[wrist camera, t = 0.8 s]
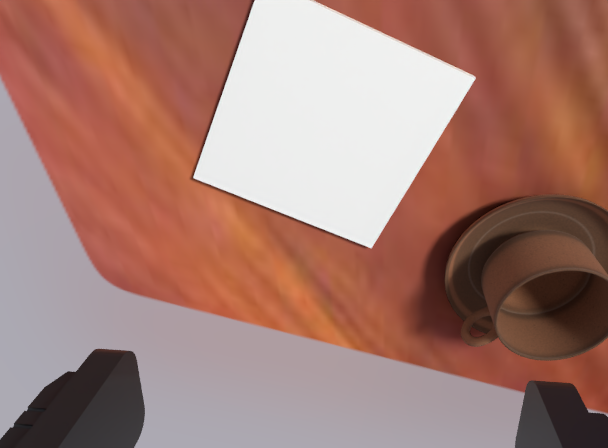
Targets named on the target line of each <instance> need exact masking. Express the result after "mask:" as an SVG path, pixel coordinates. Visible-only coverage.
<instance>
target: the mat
mask: <svg viewBox="0 0 608 448" xmlns="http://www.w3.org/2000/svg"><path fill="white" fill-rule="evenodd" d="M475 79H476V78H475V76H474V75H472V74H469V73H467V72H465V71H463V70H461V69H459V68H457V67H454V66H452V65H450V64H448V63H446V62H444V61H442V60H440V59H437V58H435V57H433V56H431V55H429V54H427V53H425V52H422V51H420V50H418V49H416V48H414V47H412V46H410V45H408V44H405V43H403V42H401V41H399V40H397V39H395V38H393V37H391V36H388V35H386V34H384V33H382V32H380V31H378V30H376V29H373V28H371V27H369V26H367V25H365V24H363V23H361V22H359V21H356V20H354V19H352V18H350V17H348V16H346V15H344V14H341V13H339V12H337V11H335V10H333V9H331V8H329V7H327V6H324V5H322V4H320V3H318V2H316V1H314V0H255V1H254V4H253V7H252V9H251V12H250V15H249V18H248V21H247V24H246V27H245V30H244V33H243V35H242V38H241V41H240V44H239V47H238V50H237V53H236V56H235V58H234V61H233V64H232V67H231V70H230V73H229V76H228V79H227V82H226V84H225V87H224V90H223V93H222V96H221V99H220V102H219V105H218V107H217V110H216V113H215V116H214V119H213V122H212V125H211V128H210V130H209V133H208V136H207V139H206V142H205V145H204V148H203V151H202V154H201V156H200V159H199V162H198V165H197V168H196V171H195V174H194V177H193V178H194V179H197V180H199V181H202V182H204V183H207V184H209V185H212V186H214V187H217V188H220V189H222V190H225V191H227V192H230V193H232V194H235V195H237V196H240V197H242V198H245V199H247V200H250V201H253V202H255V203H258V204H260V205H263V206H265V207H268V208H270V209H273V210H275V211H278V212H280V213H283V214H285V215H288V216H291V217H293V218H296V219H298V220H301V221H303V222H306V223H308V224H311V225H313V226H316V227H318V228H321V229H324V230H326V231H329V232H331V233H334V234H336V235H339V236H341V237H344V238H346V239H349V240H351V241H354V242H356V243H359V244H362V245H364V246H367V247H369V248H372V246H373V245H374V243H375V242H376V240H377V238H378V237H379V235H380V233H381V232H382V230H383V229H384V227H385V225H386V224H387V222H388V220H389V219H390V217H391V216H392V214H393V212H394V211H395V209H396V207H397V206H398V204H399V202H400V201H401V199H402V198H403V196H404V194H405V193H406V191H407V189H408V188H409V186H410V185H411V183H412V181H413V180H414V178H415V176H416V175H417V173H418V172H419V170H420V168H421V167H422V165H423V163H424V162H425V160H426V158H427V157H428V155H429V154H430V152H431V150H432V149H433V147H434V145H435V144H436V142H437V141H438V139H439V137H440V136H441V134H442V132H443V131H444V129H445V127H446V126H447V124H448V123H449V121H450V119H451V118H452V116H453V114H454V113H455V111H456V110H457V108H458V106H459V105H460V103H461V101H462V100H463V98H464V97H465V95H466V93H467V92H468V90H469V88H470V87H471V85H472V83H473V82H474V80H475Z"/></svg>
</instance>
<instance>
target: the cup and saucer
mask: <svg viewBox="0 0 608 448" xmlns="http://www.w3.org/2000/svg"><path fill="white" fill-rule="evenodd" d="M445 289H446V294H447V297H448V300H449V302H450V304H451V306H452V308H453V309H454V311H455V312H456V313H457V315H458V316H459V317H460V318H461V319H462V320H463V321H464V323H463V325H462V327H461V337H462V339H463V341H464V342H465V343H466V344H468V345H470V346H474V347H478V346H483V345H486V344H488V343H490V342H492V341H494V340H495V339H496V338H498V337H499V339H500V341H501V342H502V343H503V344H504V345H505V346H506V347H507V348H508V349H509V350H511V351H512V352H514V353H516V354H518V355H520V356H523V357H526V358H529V359H534V360H560V359H566V358H570V357H574V356H577V355H580V354H582V353H585V352H587V351H589V350H591V349H593V348H594V347H596V346H598V345H599V344H600V343H602V342H603V341H604V340H605V339H607V338H608V211H607V210H606V209H604V208H603V207H601V206H599V205H597V204H595V203H593V202H591V201H588V200H585V199H582V198H578V197H575V196H569V195H559V194H546V195H536V196H530V197H525V198H521V199H517V200H514V201H511V202H508V203H506V204H504V205H501V206H499V207H497V208H495V209H493V210H491V211H490V212H488V213H486V214H485V215H483V216H482V217H481V218H479V219H478V220H477V221H475V222H474V223H473V224H472V225H471V226H470V227H469V228H468V229H467V230H466V231H465V232H464V233H463V234H462V235H461V237H460V238H459V239H458V240H457V242H456V244H455V245H454V247H453V249H452V251H451V253H450V255H449V258H448V261H447V265H446V270H445ZM471 326H472V327H473V328H475V329H477V330H479V331H481V332H483V333H486V334H485V335H483V336H481V337H473V336H471V334H470V329H471Z"/></svg>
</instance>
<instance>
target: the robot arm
mask: <svg viewBox="0 0 608 448" xmlns="http://www.w3.org/2000/svg"><path fill="white" fill-rule="evenodd" d="M144 416H145V408H144V401H143V395H142V390H141V383H140V378H139V371H138V365H137V360H136V356H135V354H134V353H133V352H132V351H121V350H108V349H96V350H94V351H93V352H92V353H91V354H90V355H89V356H88V357H87V359H86V360H85V361H84V363H83V364H82V365H81V366H80V368H79V369H78V370H77V371H76V372H67V373H65V374H64V375H62V376H61V377H59V378H58V379H56V380H55V381H54V382H52V383H50V384H49V385H48V386H46V387H44V389H43V390H42V391H41V392H40V393H39V395H38V396H37V397H36V398H35V399H34V400H33V402H32V403H31V404H30V405H29V406H28V410H27V411H24V412H23V413H22V415H21V416H20V417H19V418H18V419H17V421H16V422H15V423H14V427H13V428H10V429H9V430H8V431H7V432H6V433H5V435H4V436H3V437H2V438H1V440H0V448H134V446H135V444H136V443H137V441H138V439H139V437H140V434H141V431H142V428H143V423H144ZM515 448H608V417H607V416H606V415H605V414H600V413H589V412H588V410H587V408H586V407H585V405H584V403H583V401H582V399H581V397H580V395H579V393H578V391H577V389H576V388H575V386H574V385H573V384H571V383H559V382H545V381H529V382H528V384H527V387H526V390H525V396H524V400H523V406H522V411H521V416H520V421H519V426H518V432H517V436H516V443H515Z"/></svg>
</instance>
